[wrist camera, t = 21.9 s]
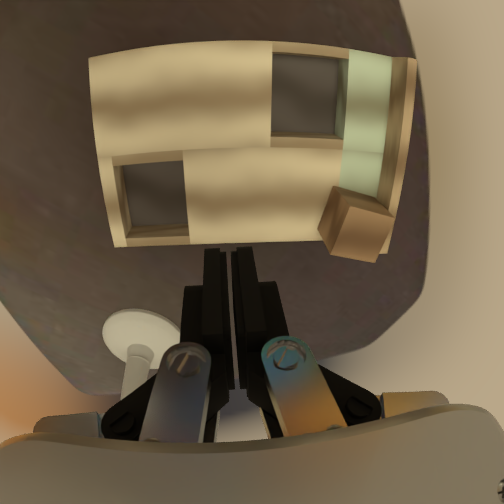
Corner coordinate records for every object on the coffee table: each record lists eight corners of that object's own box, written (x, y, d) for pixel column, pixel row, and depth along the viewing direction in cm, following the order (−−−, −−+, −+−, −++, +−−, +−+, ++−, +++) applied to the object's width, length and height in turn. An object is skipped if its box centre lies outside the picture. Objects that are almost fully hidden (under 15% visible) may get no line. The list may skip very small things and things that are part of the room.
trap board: (100, 58, 24) (74, 57, 19) (386, 59, 26) (416, 59, 21) (121, 233, 35) (106, 262, 29) (366, 226, 36) (386, 253, 31)
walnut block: (333, 185, 30) (350, 206, 26) (374, 197, 31) (395, 218, 27) (317, 228, 33) (330, 254, 28) (357, 237, 34) (374, 262, 29)
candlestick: (198, 357, 47) (196, 549, 22) (131, 370, 48) (106, 538, 23) (160, 299, 40) (126, 537, 15) (88, 318, 41) (30, 511, 16)
